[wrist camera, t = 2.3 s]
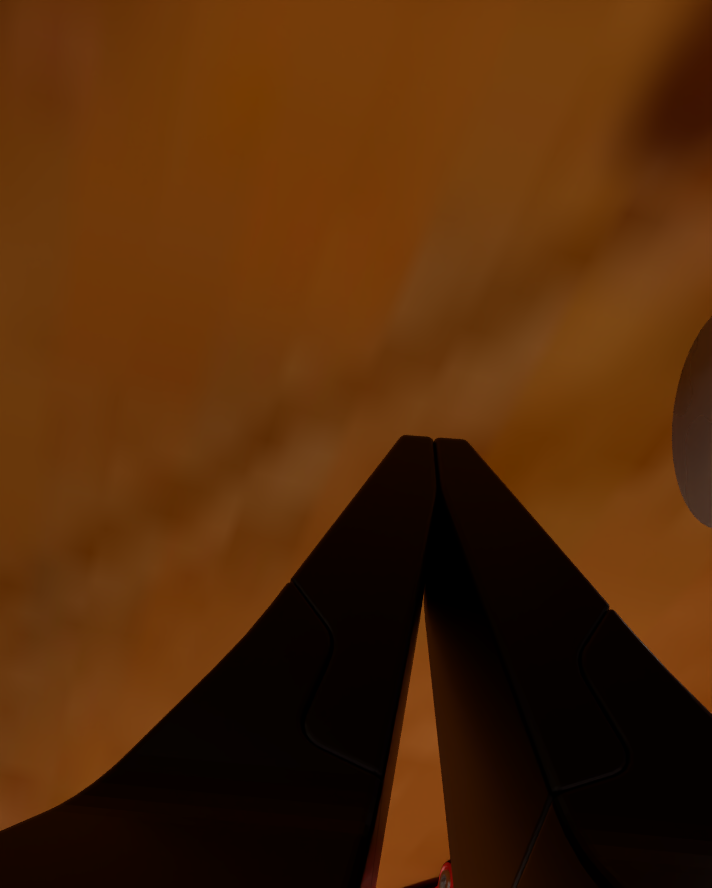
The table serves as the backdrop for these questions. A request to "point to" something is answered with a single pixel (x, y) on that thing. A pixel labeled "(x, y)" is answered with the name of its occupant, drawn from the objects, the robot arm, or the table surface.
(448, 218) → the table surface
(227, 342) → the table surface
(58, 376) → the table surface
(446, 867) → the tow hook
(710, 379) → the pin
